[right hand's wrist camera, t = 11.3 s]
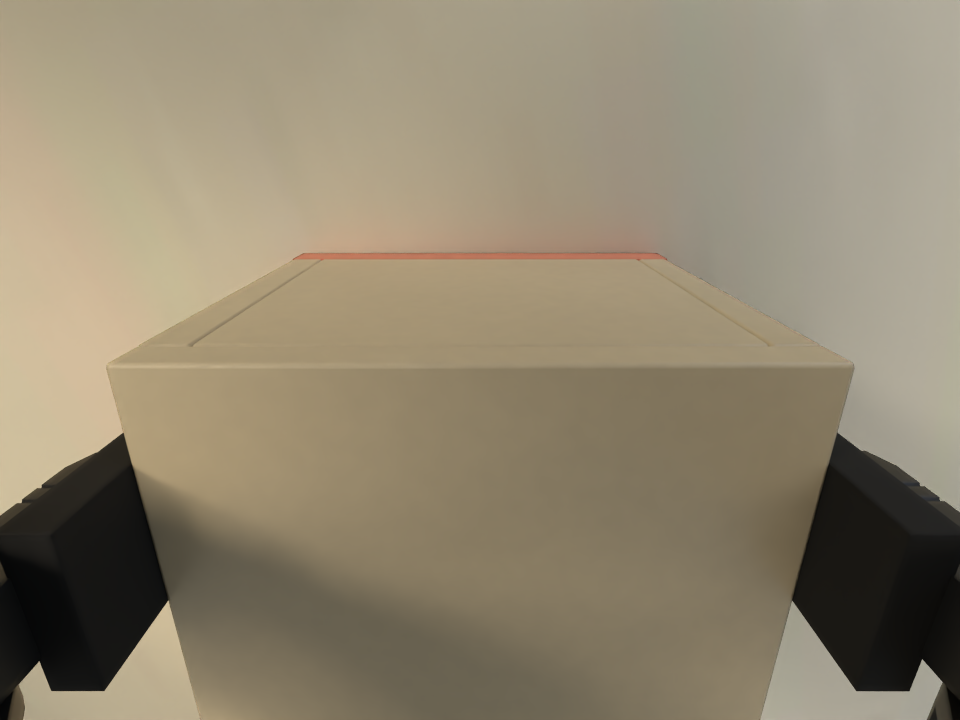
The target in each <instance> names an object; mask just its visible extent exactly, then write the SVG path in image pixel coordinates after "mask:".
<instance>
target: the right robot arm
mask: <svg viewBox="0 0 960 720" xmlns="http://www.w3.org/2000/svg"><path fill="white" fill-rule="evenodd" d="M167 601H168V596H167V593H166V589H165V585H164V581H163V578H162V574H161V570H160V567H159V563H158V559H157V555H156V552H155V548H154V544H153V540H152V537H151V533H150V529H149V525H148V522H147V518H146V514H145V511H144V507H143V503H142V499H141V496H140V492H139V488H138V484H137V481H136V477H135V473H134V470H133V466H132V462H131V458H130V455H129V451H128V447H127V443H126V440H125V436H124V433H122V434H121V435H120V436H118V437H117V438H116V439H115V440H113V441H112V442H111V443H109V444H108V445H107V446H105V447H104V448H103V449H101V450H100V451H99V452H98V453H94V454H92V455H90V456H88V457H86V458H84V459H82V460H80V461H78V462H76V463H74V464H71V465H69V466H67V467H65V468H64V469H63V470H61V471H60V472H58V473H57V474H56V475H54V476H53V477H52V478H50V479H49V480H48V481H46V482H45V483H44V484H42V488H37V489H36V490H34V491H33V492H32V493H30V494H29V495H28V496H26V497H25V498H24V499H22V503H17V504H15V505H14V506H13V507H11V508H10V509H9V510H7V511H6V512H5V513H3V514H2V515H1V516H0V720H23V716H24V710H25V705H24V699H23V695H22V692H21V690H20V688H19V683H20V682H21V681H22V680H23V679H24V678H25V677H26V675H27V674H28V673H29V672H30V671H31V670H32V669H33V667H34V666H35V665H36V664H37V663H38V662H39V661H40V663H41V666H42V668H43V671H44V674H45V676H46V679H47V681H48V684H49V686H50V689H51V691H105V689H106V688H107V686H108V685H109V683H110V682H111V681H112V679H113V678H114V676H115V675H116V674H117V672H118V671H119V669H120V668H121V666H122V665H123V664H124V662H125V661H126V659H127V658H128V657H129V655H130V654H131V652H132V651H133V649H134V648H135V647H136V645H137V644H138V642H139V641H140V640H141V638H142V637H143V635H144V634H145V632H146V631H147V630H148V628H149V627H150V625H151V624H152V623H153V621H154V620H155V618H156V617H157V615H158V614H159V613H160V611H161V610H162V608H163V607H164V606H165V604H166V603H167ZM792 601H793V602H794V603H795V605H796V606H797V608H798V609H799V610H800V612H801V613H802V615H803V616H804V617H805V619H806V620H807V622H808V623H809V625H810V626H811V627H812V629H813V630H814V632H815V633H816V634H817V636H818V637H819V639H820V640H821V642H822V643H823V644H824V646H825V647H826V649H827V650H828V651H829V653H830V654H831V656H832V657H833V659H834V660H835V661H836V663H837V664H838V666H839V667H840V668H841V670H842V671H843V673H844V674H845V676H846V677H847V678H848V680H849V681H850V683H851V684H852V685H853V687H854V688H855V690H856V691H910V688H911V686H912V683H913V681H914V678H915V676H916V673H917V671H918V668H919V666H920V663H921V661H922V659H923V660H924V661H925V662H926V664H927V665H928V666H929V667H930V668H931V669H932V670H933V671H934V673H935V674H936V675H937V676H938V677H939V678H940V679H941V681H942V682H943V683H942V685H941V688H940V690H939V692H938V695H937V697H936V699H935V702H934V704H933V707H932V709H931V711H930V714H929V716H928V718H927V720H960V512H958V511H957V510H956V509H954V508H953V507H952V506H950V505H949V504H948V503H946V502H945V501H940V500H939V497H938V496H937V495H935V494H934V493H933V492H931V491H930V490H929V489H927V488H926V487H924V486H920V483H919V482H918V481H916V480H915V479H914V478H912V477H911V476H910V475H908V474H907V473H905V472H904V471H903V470H901V469H900V468H899V467H897V466H896V465H894V464H892V463H890V462H888V461H885V460H883V459H881V458H879V457H877V456H875V455H873V454H871V453H869V452H867V451H860V450H859V449H858V448H857V447H855V446H854V445H853V444H851V443H850V442H849V441H847V440H846V439H845V438H844V437H842V436H841V435H840V434H838V433H837V435H836V438H835V442H834V446H833V450H832V453H831V457H830V461H829V465H828V468H827V472H826V476H825V479H824V483H823V487H822V491H821V494H820V498H819V502H818V506H817V509H816V513H815V517H814V520H813V524H812V528H811V532H810V535H809V539H808V543H807V547H806V550H805V554H804V558H803V561H802V565H801V569H800V573H799V576H798V580H797V584H796V588H795V591H794V595H793V599H792Z"/></svg>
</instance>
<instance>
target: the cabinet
mask: <svg viewBox="0 0 960 720" xmlns="http://www.w3.org/2000/svg"><path fill="white" fill-rule="evenodd" d="M853 371H854V364H853V363H852V362H850V361H848V360H847V359H845V358H843V357H841V356H839V355H838V354H836V353H834V352H832V351H830V350H828V349H827V348H825V347H822V346H820V345H819V344H818V343H816V342H814V341H812V340H810V339H808V338H807V337H805V336H803V335H801V334H799V333H798V332H796V331H794V330H792V329H790V328H788V327H787V326H785V325H783V324H781V323H779V322H778V321H776V320H774V319H772V318H770V317H768V316H767V315H765V314H763V313H761V312H759V311H758V310H756V309H754V308H752V307H750V306H748V305H747V304H745V303H743V302H741V301H739V300H738V299H736V298H734V297H732V296H730V295H728V294H727V293H725V292H723V291H721V290H719V289H718V288H716V287H714V286H712V285H710V284H708V283H707V282H705V281H703V280H701V279H699V278H698V277H696V276H694V275H692V274H690V273H688V272H687V271H685V270H683V269H681V268H679V267H678V266H676V265H674V264H672V263H670V262H668V261H667V259H666V258H664V257H663V256H661V255H659V254H657V253H303V254H301V255H299V256H298V257H296V258H294V259H293V261H291V262H289V263H287V264H285V265H283V266H282V267H280V268H278V269H276V270H274V271H273V272H271V273H269V274H267V275H265V276H263V277H262V278H260V279H258V280H256V281H254V282H253V283H251V284H249V285H247V286H245V287H244V288H242V289H240V290H238V291H236V292H234V293H233V294H231V295H229V296H227V297H225V298H224V299H222V300H220V301H218V302H216V303H214V304H213V305H211V306H209V307H207V308H205V309H204V310H202V311H200V312H198V313H196V314H195V315H193V316H191V317H189V318H187V319H185V320H184V321H182V322H180V323H178V324H176V325H175V326H173V327H171V328H169V329H167V330H165V331H164V332H162V333H160V334H158V335H156V336H155V337H153V338H151V339H149V340H147V341H146V342H144V343H142V344H140V345H139V347H137V348H135V349H133V350H131V351H129V352H127V353H126V354H124V355H122V356H120V357H118V358H117V359H115V360H113V361H111V362H109V363H108V364H107V373H108V376H109V380H110V384H111V388H112V391H113V395H114V399H115V402H116V406H117V410H118V414H119V417H120V421H121V425H122V429H123V432H124V436H125V440H126V443H127V447H128V451H129V455H130V458H131V462H132V466H133V470H134V473H135V477H136V481H137V484H138V488H139V492H140V496H141V499H142V503H143V507H144V511H145V514H146V518H147V522H148V525H149V529H150V533H151V537H152V540H153V544H154V548H155V552H156V555H157V559H158V563H159V567H160V570H161V574H162V578H163V581H164V585H165V589H166V593H167V596H168V600H169V604H170V608H171V611H172V615H173V619H174V622H175V626H176V630H177V634H178V637H179V641H180V645H181V649H182V652H183V656H184V660H185V663H186V667H187V671H188V675H189V678H190V682H191V686H192V690H193V693H194V697H195V701H196V704H197V708H198V712H199V716H200V719H201V720H760V718H761V714H762V711H763V707H764V703H765V699H766V696H767V692H768V688H769V684H770V681H771V677H772V673H773V670H774V666H775V662H776V658H777V655H778V651H779V647H780V643H781V640H782V636H783V632H784V629H785V625H786V621H787V617H788V614H789V610H790V606H791V602H792V599H793V595H794V591H795V588H796V584H797V580H798V576H799V573H800V569H801V565H802V561H803V558H804V554H805V550H806V547H807V543H808V539H809V535H810V532H811V528H812V524H813V520H814V517H815V513H816V509H817V506H818V502H819V498H820V494H821V491H822V487H823V483H824V479H825V476H826V472H827V468H828V465H829V461H830V457H831V453H832V450H833V446H834V442H835V438H836V435H837V431H838V427H839V424H840V420H841V416H842V412H843V409H844V405H845V401H846V397H847V394H848V390H849V386H850V383H851V379H852V375H853Z"/></svg>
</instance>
